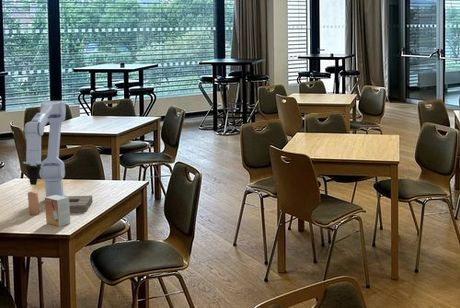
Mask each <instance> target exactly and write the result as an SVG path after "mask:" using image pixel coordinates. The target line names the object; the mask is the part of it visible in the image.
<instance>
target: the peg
mask: <svg viewBox="0 0 460 308" xmlns="http://www.w3.org/2000/svg"><path fill="white" fill-rule="evenodd" d="M27 202H28V203H27V204H28V212H29V214H30V215H29V216H38V215H40V214H41V213H40V200H39V192H38V191H29V192H27ZM39 213H40V214H39ZM37 214H38V215H37Z"/></svg>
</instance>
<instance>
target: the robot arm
mask: <svg viewBox="0 0 460 308" xmlns="http://www.w3.org/2000/svg"><path fill="white" fill-rule="evenodd" d="M39 107H40V108H39V109H40V112H37V113H36V114H35V115H33V118H32V119H31V121H28V122H26V123H25V125H24V128H23V129H24V136H25V140H26V151H25V153H26V155H25V157H26V158H25V160H26V161H23V162H22V164H26V166H25V168H26V170H27V173H28V179H29V185H30V186H37V182H38V177H40V179H41V180H42V181H43V182H44V190H45V197H49V196H53V195H59V196H67V195H66V194H64V185H63V184H64V183H63V181H62V180H63V179H64V178H65V176H66V170H65V169H66V168H65V167H66V166H65V162H64V161H63V160H61V159H60V158H59V157H60V147H61V146H60V144H61V131H62V122H65V121H66V115H67V114H66V113H67V107H66V102H65V101H64V100H46V101H45V100H42V101H41V103H40V105H39ZM48 123H49V133H48V143H47V144H48V147H47V157H46V158H45V159H43V160H42V136H43V135H44V131H45V127H46V125H47V124H48ZM37 165H40V166H37ZM43 202H44V203H45V199H43Z"/></svg>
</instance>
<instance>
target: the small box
mask: <svg viewBox="0 0 460 308" xmlns="http://www.w3.org/2000/svg"><path fill="white" fill-rule="evenodd" d="M44 200H45V202H44V209H45V220H46V221H45V222H46V224H48V225H53V226H55V225H56V226H55V227H58V226H60V227H63V226H66V224H67V225H69V224H71V213H70V208H69V197H63V196H59V195H53V196H49V197H46V196H45V197H44Z"/></svg>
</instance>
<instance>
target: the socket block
mask: <svg viewBox="0 0 460 308" xmlns="http://www.w3.org/2000/svg"><path fill="white" fill-rule="evenodd" d="M63 197H69V208H70V214H72V213H75V214H76V213H86V212H88V210H89V208H90V207H91V206H92V204H93V203H94V202H93V195H66V196H63Z"/></svg>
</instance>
